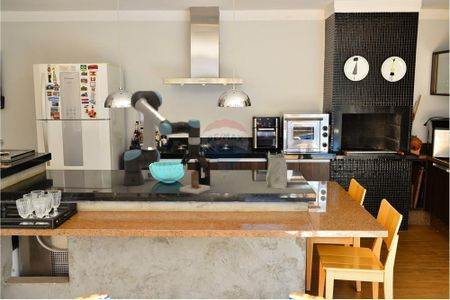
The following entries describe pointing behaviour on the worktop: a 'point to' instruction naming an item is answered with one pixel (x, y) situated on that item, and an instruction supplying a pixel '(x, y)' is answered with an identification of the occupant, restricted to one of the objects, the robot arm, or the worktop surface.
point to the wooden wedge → (195, 179)
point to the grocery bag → (276, 171)
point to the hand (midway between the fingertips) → (194, 176)
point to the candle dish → (194, 189)
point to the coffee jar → (205, 179)
